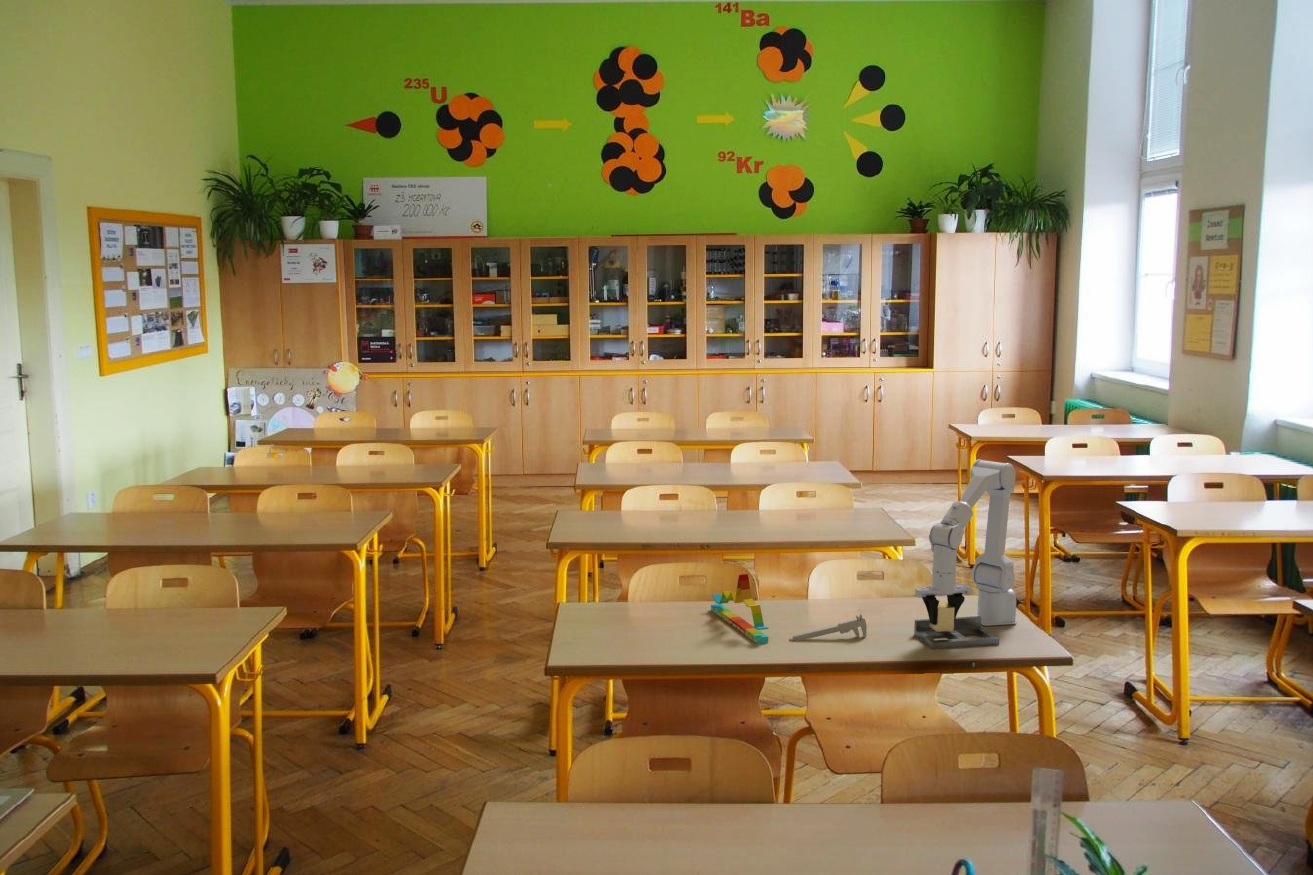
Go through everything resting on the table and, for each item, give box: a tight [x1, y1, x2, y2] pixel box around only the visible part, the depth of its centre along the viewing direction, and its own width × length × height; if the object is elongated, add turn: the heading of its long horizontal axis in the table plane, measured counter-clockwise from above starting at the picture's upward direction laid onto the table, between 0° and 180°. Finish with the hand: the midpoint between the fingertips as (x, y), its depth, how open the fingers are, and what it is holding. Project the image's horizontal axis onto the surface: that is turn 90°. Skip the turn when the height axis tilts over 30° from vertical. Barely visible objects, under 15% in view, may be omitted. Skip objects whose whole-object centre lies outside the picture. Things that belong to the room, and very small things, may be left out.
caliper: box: [788, 613, 868, 642], centre depth 281 cm, size 21×1×6 cm, turn 99°
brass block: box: [929, 602, 955, 632], centre depth 279 cm, size 4×4×6 cm
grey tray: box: [913, 616, 1000, 650], centre depth 281 cm, size 18×11×4 cm, turn 100°
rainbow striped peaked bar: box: [710, 573, 769, 645], centre depth 291 cm, size 30×3×15 cm, turn 20°
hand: (941, 622), depth 279 cm, fingers closed on brass block, 4 cm apart
